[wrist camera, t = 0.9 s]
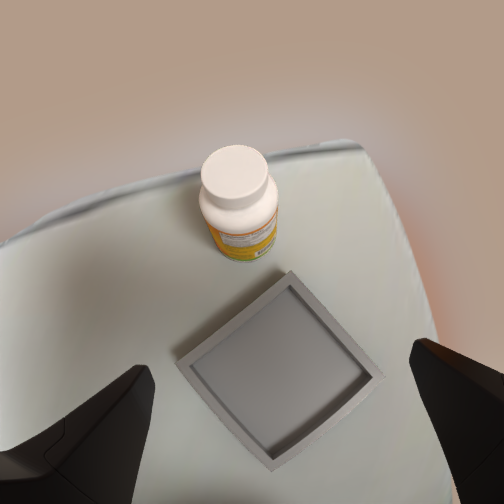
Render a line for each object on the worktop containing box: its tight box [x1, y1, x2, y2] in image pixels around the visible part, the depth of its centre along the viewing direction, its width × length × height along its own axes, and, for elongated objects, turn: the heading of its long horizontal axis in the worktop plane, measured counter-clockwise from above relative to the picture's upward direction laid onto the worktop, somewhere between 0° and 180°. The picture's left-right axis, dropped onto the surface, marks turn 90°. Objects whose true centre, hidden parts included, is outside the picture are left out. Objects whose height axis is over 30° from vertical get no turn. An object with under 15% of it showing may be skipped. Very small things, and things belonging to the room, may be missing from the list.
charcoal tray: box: [175, 270, 386, 472], centre depth 20 cm, size 12×12×2 cm
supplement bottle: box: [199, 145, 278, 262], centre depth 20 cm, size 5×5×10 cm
